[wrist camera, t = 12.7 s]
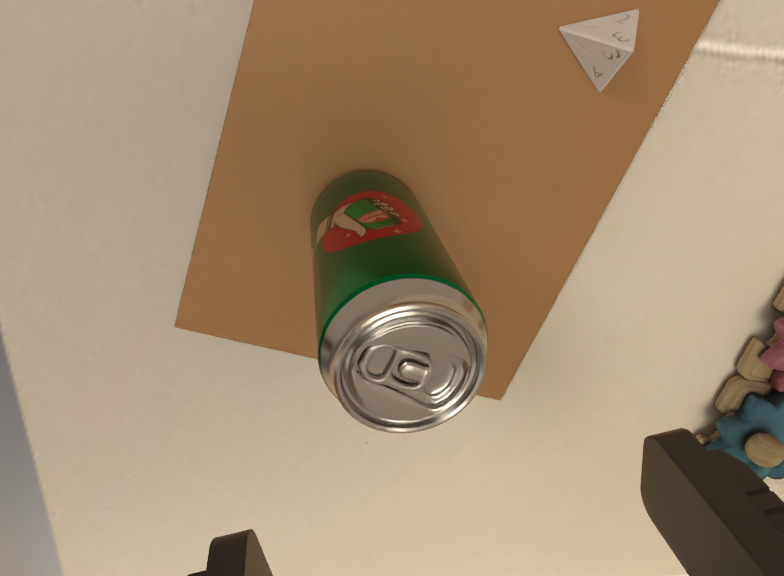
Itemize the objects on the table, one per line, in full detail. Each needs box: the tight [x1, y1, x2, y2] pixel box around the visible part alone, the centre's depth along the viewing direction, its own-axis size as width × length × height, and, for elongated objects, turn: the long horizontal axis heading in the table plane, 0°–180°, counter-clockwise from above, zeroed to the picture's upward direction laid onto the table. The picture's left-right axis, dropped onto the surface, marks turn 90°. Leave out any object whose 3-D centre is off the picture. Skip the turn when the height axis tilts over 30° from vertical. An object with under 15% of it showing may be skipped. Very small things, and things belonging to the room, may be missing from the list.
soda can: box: [310, 170, 488, 433], centre depth 21 cm, size 5×5×12 cm
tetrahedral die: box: [559, 9, 639, 92], centre depth 24 cm, size 4×3×3 cm
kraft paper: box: [175, 0, 719, 400], centre depth 26 cm, size 18×22×1 cm
